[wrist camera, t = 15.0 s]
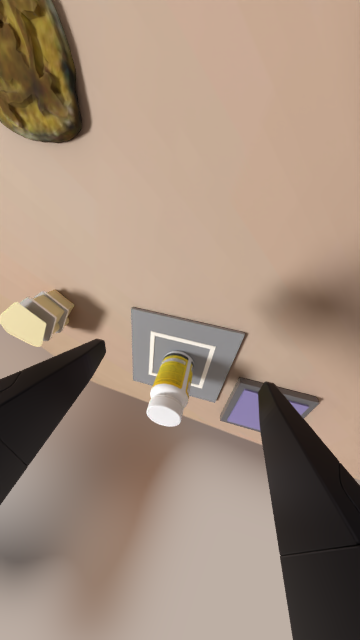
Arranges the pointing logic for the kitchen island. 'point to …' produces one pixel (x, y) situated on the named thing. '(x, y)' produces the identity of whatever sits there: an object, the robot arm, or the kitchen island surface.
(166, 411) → the supplement bottle
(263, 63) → the kitchen island surface
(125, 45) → the kitchen island surface
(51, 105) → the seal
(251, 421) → the pad
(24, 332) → the cream tiered block
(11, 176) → the kitchen island surface
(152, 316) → the board
